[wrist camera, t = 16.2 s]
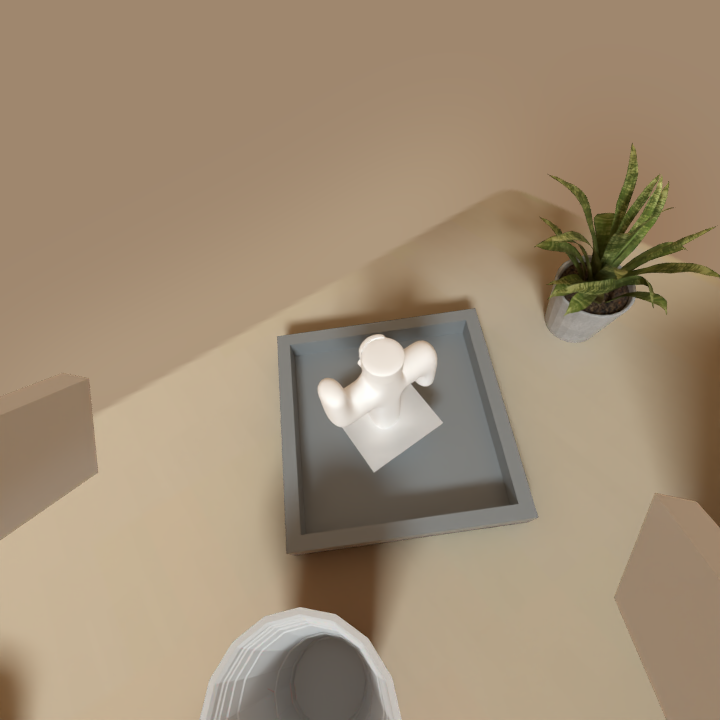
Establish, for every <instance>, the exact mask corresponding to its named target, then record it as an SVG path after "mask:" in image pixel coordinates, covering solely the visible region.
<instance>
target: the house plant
mask: <svg viewBox="0 0 720 720" xmlns="http://www.w3.org/2000/svg"><path fill="white" fill-rule="evenodd" d="M550 176H551V175H550ZM659 176H660V175H658V176H657V177H656V178H655V179H653V181H651V182H650V184H649V185H648V186H647V187H646V188H645V189H644V191H643V192H642V193H641V194H640V196H639V197H638V198H637V200H636V201H635V202H634V204H633V205H632V206H631V207H630V209H629V211H628V212H627V213H626V210H627V208H628V205H629V202H630V199H631V196H632V194H633V191H634V188H635V185H636V181H637V177H638V164H637V155H636V150H635V148H634V146H633V144H632V147H631V153H630V160H629V166H628V170H627V175H626V178H625V182H624V185H623V187H622V190H621V193H620V195H619V198H618V201H617V204H616V211H615V214H614V213H603V214H597V215H596V216H595V217H594V225H595V231H594V227H593V221H592V214H591V209H590V205H589V202H588V199H587V197H586V195H585V194H584V193H583V192H582V191H581V190H580V189H579V188H577V187H576V186H575V185H573V184H571V183H568V182H565V181H564V180H562V179H560V178H558V177H555V176H551V177H552V178H554V179H556V180H557V181H559V182H560V183H561V184H563V185H564V186H566V187H567V188H568V189H569V190H570V191H571V192H572V193H573V194H574V195H575V196H576V198H577V199H578V201H579V202H580V204H581V205H582V207H583V210H584V213H585V216H586V220H587V223H588V226H589V229H590V232H591V235H592V239H593V248H592V249H593V255H592V256H591V255H587V253H586V251H585V249H584V248H583V247H582V246H581V245H579V244H578V243H577V244H578V245H579V246H580V248H581V250H582V252H583V254H584V256H581V255H580V253H579V252H578V250H577V249H576V248H575V247H574V246H572V245H571V244H569V243H567V242H574V243H576V242H575V241H573V240H580V241H583V242H586V243H588V244H589V245H590V243H589V242H588V241H587V240H586V239H585V238H584V236H582V235H581V234H579V233H577V232H574V231H570V232H566V233H563V234H562V232H561V230H560V229H559V228H558V227H557V226H556V225H554V224H553V223H551V222H550V221H548V220H546V219H543V218H541V217H540V216H539V217H540V218H541V219H542V220H543V221H544V222H546V223H547V224H548V225H549V226H550V227H551V228H552V230H553V231H554V232H555V234H556V236H552V237H550V238H548V239H547V240H545V241H543V242H541V243H539V244H538V245H536V246H537V247H540V248H542V249H545V250H551V251H559V252H566V254H567V255H568V256H569V258H570V260H568V261H567V262H565V263H563V264H562V266H561V267H560V268H559V269H558V271H557V274H556V276H555V280H554V281H552V282H550V283H549V284H546V285H553V288H552V291H551V295H550V297H549V298H548V299H549V303H548V307H547V310H546V314H545V322H546V325H547V327H548V329H549V330H550V331H551V332H552V333H553V334H554V335H555V336H556V337H558V338H560V339H562V340H564V341H567V342H582V341H585V340H588V339H589V338H591V337H592V336H593V335H595V334H596V333H597V332H599V331H600V330H601V329H603V328H604V327H605V326H607V325H608V324H610V323H611V322H612V321H614V320H615V319H616V318H618V317H619V316H620V315H622V314H623V313H624V312H626V311H627V310H628V309H630V307H631V306H632V305H633V303H634V301H635V298H639V299H643V300H646V301H649V302H651V303H652V306H653V303H654V304H657V305H659V306H661V307H662V308H663V309H664V310H665V311H666V315H667V301H666V300H665V299H664V298H663V297H662V296H660V295H658V294H655V293H653V288H652V286H651V284H650V283H649V282H648V281H647V280H646V279H644V278H643V277H641V276H638V275H639V274H645V273H678V272H695V273H700V274H704V275H709V276H715V277H719V278H720V275H719V274H717V273H716V272H714V271H713V270H711V269H709V268H708V267H705V266H702V265H697V264H693V263H662V264H657V265H653V266H650V267H647V268H643V269H638V270H634V269H635V268H637V267H638V266H640V265H642V264H644V263H646V262H648V261H650V260H653V259H656V258H658V257H662V256H665V255H668V254H672V253H675V252H678V251H680V250H683V249H686V248H684V247H683V246H682V245H684V244H686V243H688V242H690V241H692V240H693V239H695V238H697V237H699V236H701V235H703V234H705V233H706V232H708V231H710V230H711V229H713V228H714V227H712V228H709V229H705V230H703V231H701V232H698V233H696V234H693V235H690V236H687V237H684V238H682V239H680V240H678V241H676V242H666V243H662V244H659V245H657V246H655V247H653V248H651V249H649V250H647V251H645V252H643V253H642V254H640V255H638V256H637V257H635V258H634V259H632V260H631V261H630V262H628V263H627V264H626V265H625V266H623V267H621V266H620V264H621V263H622V261H623V260H624V259H625V258H626V257H627V256H628V255H629V254H630V253H631V252H632V251H633V250H634V249H635V248H636V247H637V246H638V244H639V243H640V242H641V240H642V239H643V238H644V236H645V235H646V234H647V232H648V231H649V230H650V229H651V227H652V226H653V225H654V224H655V222H656V220H657V219H658V217H659V215H660V213H661V211H662V209H663V207H664V204H665V201H666V198H667V194H668V188H669V183H668V184H667V185H666V186H665V187H664V189H663V190H662V177H661V178H660V180H659V182H658V184H657V188H656V190H655V192H654V193H653V194H652V196H651V197H650V199H649V201H648V203H647V205H646V207H645V209H644V211H643V213H642V214H641V216H640V217H639V219H638V220H637V222H636V223H635V224H634V225H633V227H632V228H631V230H630V231H629V232H628V233H626V234H624V233H625V231H626V230H627V228H628V226H629V225H630V223H631V222H632V220H633V219H634V217H635V216H636V215H637V213H638V212H639V210H640V209H641V208H642V206H643V205H644V203H645V202H646V201H647V199H648V198H649V196H650V193H651V192H652V189H653V187H654V186H655V184H656V183H657V181H658V179H659ZM661 190H662V192H661ZM669 209H671V208H669ZM666 210H668V209H666ZM664 211H665V210H664ZM662 212H663V211H662ZM625 214H626V215H625ZM595 232H596V234H595ZM536 246H535V247H536ZM590 246H591V245H590ZM632 270H633V271H632ZM635 285H646V286H648V287H649V291H650V292H638V291H637V292H636V286H635ZM653 308H654V307H653Z"/></svg>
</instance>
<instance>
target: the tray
mask: <svg viewBox="0 0 720 720" xmlns="http://www.w3.org/2000/svg"><path fill="white" fill-rule="evenodd" d="M376 334H382V335H384V336H385V337H386V338H391V339H393V340H395V341H397V342H398V343H399V344H400V345H401V346H402V347H403V349H405V348H406V347H408V346H409V345H411V344H412V343H414V342H416V341H426V342H428V343H430V344H431V345H432V346H433V348H434V349H435V351H436V354H437V368H436V372H435V377H434V381H433V383H432V384H431V385H429V386H421V385H419V384H418V383H417V382H416V381H414V382H413V383H411V385H412V386H413V387H414V388H415V390H416V391H417V392H418V393H419V394H420V396H421V397H422V398H423V399H424V400H425V402H426V403H427V404H428V405H429V406H430V408H431V409H432V410H433V411H434V412H435V414H436V415H437V416H438V417H439V418H440V420H441V421H442V422H443V423H442V424H441V425H440V426H438V427H437V428H436V429H434V430H433V431H431V432H430V433H429V434H427V435H426V436H424V437H423V438H422V439H420V440H419V441H417V442H416V443H415V444H413V445H412V446H410V447H409V448H408V449H406V450H405V451H403V452H402V453H401V454H399V455H398V456H396V457H395V458H394V459H392V460H391V461H389V462H388V463H387V464H385V465H384V466H382V467H381V468H380V469H378V470H377V471H375V472H373V471H372V469H371V468H370V466H369V465H368V464H367V462H366V461H365V459H364V458H363V456H362V455H361V454H360V452H359V451H358V449H357V448H356V446H355V445H354V444H353V442H352V441H351V439H350V438H349V437H348V435H347V434H346V432H345V431H344V429H343V428H342V427H338V426H336V425H335V424H333V423H332V422H331V421H330V419H329V418H328V416H327V415H326V413H325V411H324V408H323V406H322V403H321V400H320V398H319V395H318V385H319V383H320V381H321V380H323V379H325V378H332V379H334V380H336V381H337V382H338V383H339V384H340V385H341V386H342V387H343V388H345V387H347V386H348V385H350V384H351V383H353V382H354V381H355V380H357V379H358V377H359V376H360V374H361V373H362V368H361V367H360V366H359V365H358V361H359V360H360V358H359V348H360V345H361V344H362V342H363V341H364V340H365V339H366V338H368V337H370V336H372V335H376ZM277 343H278V366H279V389H280V412H281V435H282V458H283V481H284V504H285V528H286V551H287V554H290V555H301V554H308V553H315V552H322V551H329V550H336V549H343V548H350V547H357V546H364V545H371V544H378V543H385V542H392V541H399V540H406V539H413V538H420V537H427V536H434V535H441V534H448V533H455V532H462V531H469V530H476V529H484V528H491V527H498V526H505V525H512V524H519V523H526V522H529V521H532V520H534V519H536V518H538V515H537V512H536V508H535V505H534V502H533V498H532V495H531V492H530V488H529V485H528V482H527V478H526V475H525V472H524V469H523V465H522V462H521V459H520V455H519V452H518V449H517V445H516V442H515V439H514V435H513V432H512V429H511V425H510V422H509V419H508V416H507V412H506V409H505V406H504V402H503V399H502V396H501V392H500V389H499V386H498V382H497V379H496V376H495V373H494V369H493V366H492V363H491V359H490V356H489V353H488V349H487V346H486V343H485V339H484V336H483V333H482V329H481V326H480V323H479V320H478V316H477V313H476V310H475V308H474V309H467V310H460V311H453V312H446V313H439V314H432V315H425V316H418V317H411V318H403V319H396V320H389V321H382V322H375V323H368V324H361V325H354V326H347V327H340V328H333V329H326V330H319V331H312V332H305V333H298V334H291V335H284V336H277Z"/></svg>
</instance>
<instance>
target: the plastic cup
mask: <svg viewBox="0 0 720 720" xmlns="http://www.w3.org/2000/svg"><path fill="white" fill-rule="evenodd" d="M200 720H402V719H401V715H400V710H399V706H398V701H397V697H396V692H395V688H394V683H393V679H392V676H391V675H390V673H389V671H388V670H387V668H386V667H385V665H384V663H383V662H382V660H381V658H380V657H379V655H378V653H377V652H376V650H375V649H374V647H373V645H372V644H371V642H370V640H369V639H368V638H367V637H366V636H364V635H363V634H362V633H360V632H359V631H358V630H356V629H355V628H354V627H352V626H351V625H350V624H348V623H347V622H346V621H344V620H343V619H342V618H340V617H339V616H338V615H336V614H332V613H327V612H322V611H317V610H312V609H307V608H302V607H298V608H294V609H291V610H287V611H283V612H279V613H276V614H272V615H268V616H264V617H263V618H262V619H261V620H259V621H258V622H257V623H256V624H254V625H253V626H252V627H251V628H249V629H248V630H247V631H246V632H244V633H243V634H242V635H241V636H239V637H238V638H237V639H236V640H234V641H233V642H232V644H231V645H230V647H229V649H228V650H227V652H226V654H225V655H224V657H223V659H222V660H221V662H220V664H219V665H218V667H217V668H216V670H215V672H214V673H213V675H212V677H211V678H210V680H209V683H208V688H207V692H206V696H205V700H204V704H203V708H202V712H201V716H200Z"/></svg>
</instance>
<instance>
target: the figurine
mask: <svg viewBox="0 0 720 720" xmlns="http://www.w3.org/2000/svg"><path fill="white" fill-rule="evenodd" d="M359 358H360V360H359V361H358V365H359V366H360V367H361V368H362V373H361V374H360V376H359V377H358V379H357V380H355V381H354V382H353V383H351V384H350V385H348V386H347V387H345V388H343V387H342V386H341V385H340V384H339V383H338V382H337V381H336V380H334V379H332V378H325V379H323V380H321V381H320V383H319V385H318V395H319V398H320V400H321V403H322V406H323V408H324V411H325V413H326V415H327V416H328V418H329V419H330V421H331V422H332V423H333V424H335V425H336V426H338V427H342V428H343V429H344V431H345V432H346V434H347V435H348V437H349V438H350V439H351V441H352V442H353V444H354V445H355V446H356V448H357V449H358V451H359V452H360V454H361V455H362V456H363V458H364V459H365V461H366V462H367V464H368V465H369V466H370V468H371V469H372V471H373V472H375V471H377V470H378V469H380V468H381V467H382V466H384V465H385V464H387V463H388V462H389V461H391V460H392V459H394V458H395V457H396V456H398V455H399V454H401V453H402V452H403V451H405V450H406V449H408V448H409V447H410V446H412V445H413V444H415V443H416V442H417V441H419V440H420V439H422V438H423V437H424V436H426V435H427V434H429V433H430V432H431V431H433V430H434V429H436V428H437V427H438V426H440V425H441V424H442V423H443V422H442V421H441V420H440V418H439V417H438V416H437V415H436V414H435V412H434V411H433V410H432V409H431V408H430V406H429V405H428V404H427V403H426V402H425V400H424V399H423V398H422V397H421V396H420V394H419V393H418V392H417V391H416V390H415V388H414V387H413V386H412V385H411V383H413V382H414V381H416V382H417V383H418V384H419V385H421V386H429V385H431V384H432V383H433V381H434V377H435V372H436V368H437V354H436V351H435V349H434V348H433V346H432V345H431V344H430V343H428V342H426V341H416V342H414V343H412V344H411V345H409V346H408V347H406V348H405V349H403V347H402V346H401V345H400V344H399V343H398V342H397V341H395V340H393V339H391V338H386V337H385V336H384V335H382V334H376V335H372V336H370V337H368V338H366V339H365V340H364V341H363V342H362V344H361V345H360V348H359Z"/></svg>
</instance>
